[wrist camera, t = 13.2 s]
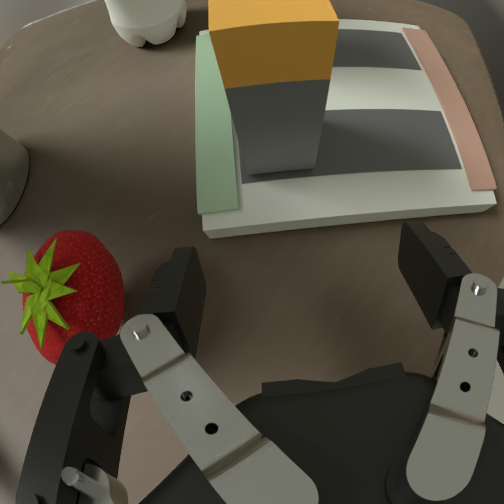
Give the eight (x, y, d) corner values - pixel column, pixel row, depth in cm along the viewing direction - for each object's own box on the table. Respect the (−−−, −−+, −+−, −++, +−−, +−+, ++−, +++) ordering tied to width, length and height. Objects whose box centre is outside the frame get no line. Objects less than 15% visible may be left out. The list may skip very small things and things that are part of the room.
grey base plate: (207, 239, 20) (100, 127, 7) (202, 46, 24) (163, -74, 11) (484, 211, 19) (605, 130, 6) (414, 39, 23) (450, -65, 10)
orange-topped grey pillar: (247, 175, 19) (208, 31, 8) (242, 120, 19) (208, -23, 9) (314, 168, 18) (339, 21, 8) (303, 114, 19) (311, -32, 8)
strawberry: (78, 349, 20) (-26, 358, 10) (89, 247, 21) (-10, 205, 11) (150, 365, 19) (53, 397, 9) (161, 252, 21) (72, 203, 11)
